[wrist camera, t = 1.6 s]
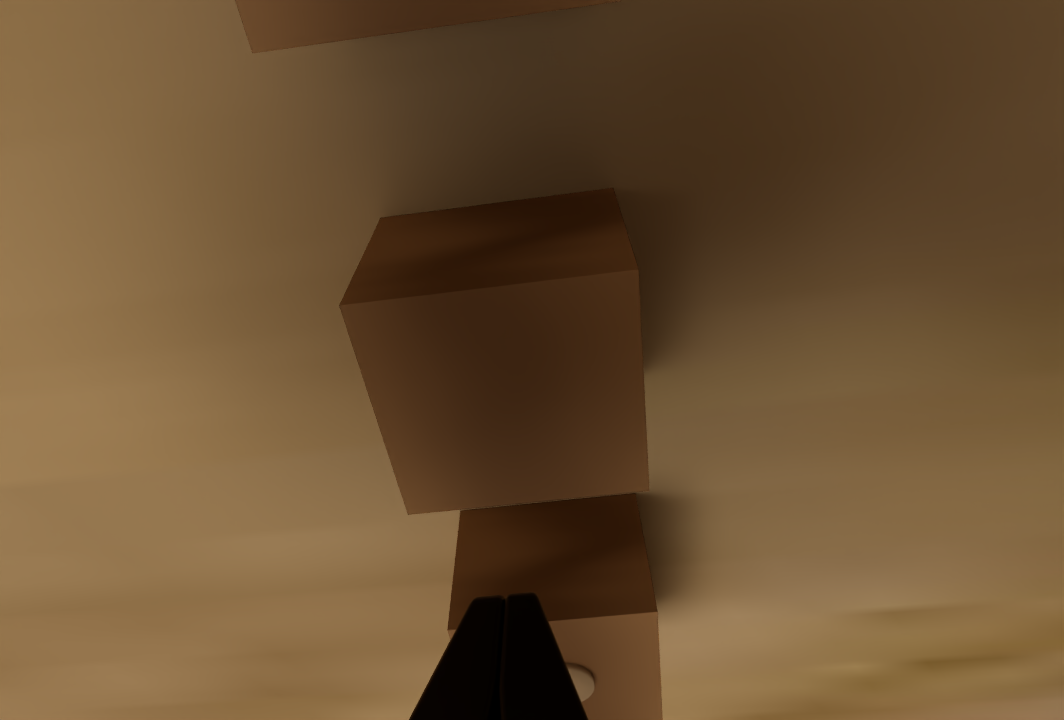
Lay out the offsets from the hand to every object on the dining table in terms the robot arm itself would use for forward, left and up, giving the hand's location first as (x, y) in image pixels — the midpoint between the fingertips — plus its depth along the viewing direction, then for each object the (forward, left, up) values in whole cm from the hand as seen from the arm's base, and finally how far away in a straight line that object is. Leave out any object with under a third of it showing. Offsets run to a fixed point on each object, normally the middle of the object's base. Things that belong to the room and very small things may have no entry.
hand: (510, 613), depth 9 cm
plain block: (0, 0, -8) cm, 8 cm away
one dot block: (-5, +7, -8) cm, 12 cm away
